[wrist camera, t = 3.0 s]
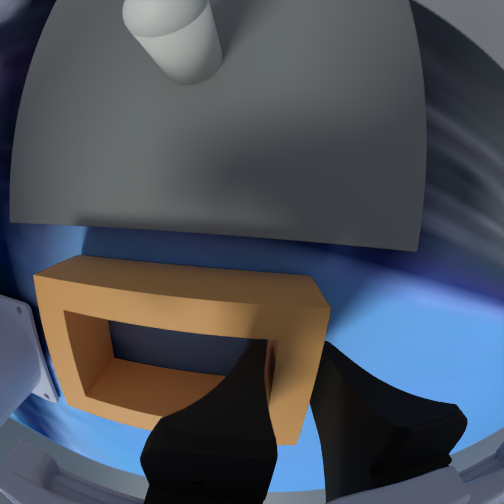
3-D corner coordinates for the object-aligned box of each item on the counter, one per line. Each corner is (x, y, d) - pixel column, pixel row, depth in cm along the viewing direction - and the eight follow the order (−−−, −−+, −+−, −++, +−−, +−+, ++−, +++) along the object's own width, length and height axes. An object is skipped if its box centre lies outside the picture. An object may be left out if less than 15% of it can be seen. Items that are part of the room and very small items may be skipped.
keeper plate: (21, 220, 11) (-62, 241, 5) (64, 6, 8) (12, -33, 2) (406, 247, 11) (500, 291, 5) (399, 1, 8) (450, -54, 2)
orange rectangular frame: (96, 368, 13) (67, 404, 10) (78, 254, 12) (33, 274, 8) (289, 396, 13) (296, 444, 10) (310, 275, 12) (331, 308, 8)
